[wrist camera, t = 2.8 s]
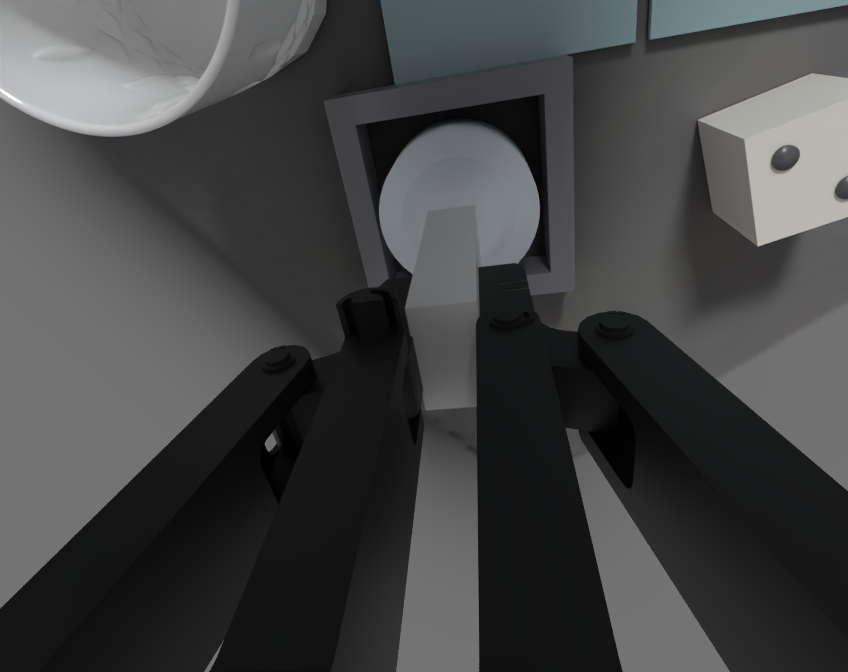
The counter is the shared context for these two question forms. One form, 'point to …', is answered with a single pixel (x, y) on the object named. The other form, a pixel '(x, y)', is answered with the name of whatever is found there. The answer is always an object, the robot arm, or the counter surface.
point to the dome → (461, 190)
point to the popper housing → (450, 93)
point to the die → (780, 159)
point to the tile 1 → (497, 32)
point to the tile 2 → (722, 13)
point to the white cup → (143, 57)
